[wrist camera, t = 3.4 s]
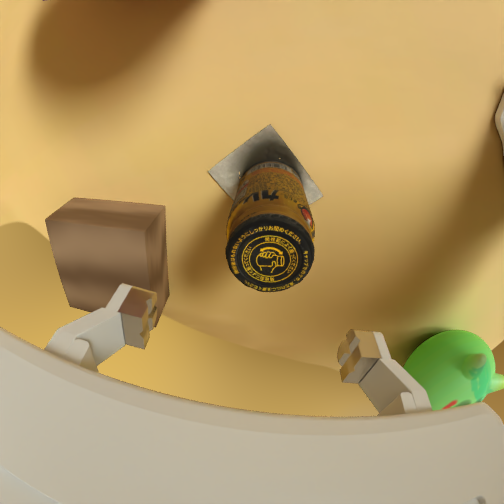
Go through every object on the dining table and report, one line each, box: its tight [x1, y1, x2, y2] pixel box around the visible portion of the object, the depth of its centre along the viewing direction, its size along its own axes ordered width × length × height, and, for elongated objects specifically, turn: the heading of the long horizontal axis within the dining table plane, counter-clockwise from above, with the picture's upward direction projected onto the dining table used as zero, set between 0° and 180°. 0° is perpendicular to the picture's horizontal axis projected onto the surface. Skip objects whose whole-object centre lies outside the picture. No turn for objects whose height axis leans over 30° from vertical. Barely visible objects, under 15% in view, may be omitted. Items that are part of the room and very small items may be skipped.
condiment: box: [208, 125, 323, 292], centre depth 21 cm, size 7×8×12 cm
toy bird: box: [403, 330, 504, 411], centre depth 31 cm, size 18×17×15 cm
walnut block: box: [45, 198, 169, 327], centre depth 29 cm, size 12×12×6 cm
